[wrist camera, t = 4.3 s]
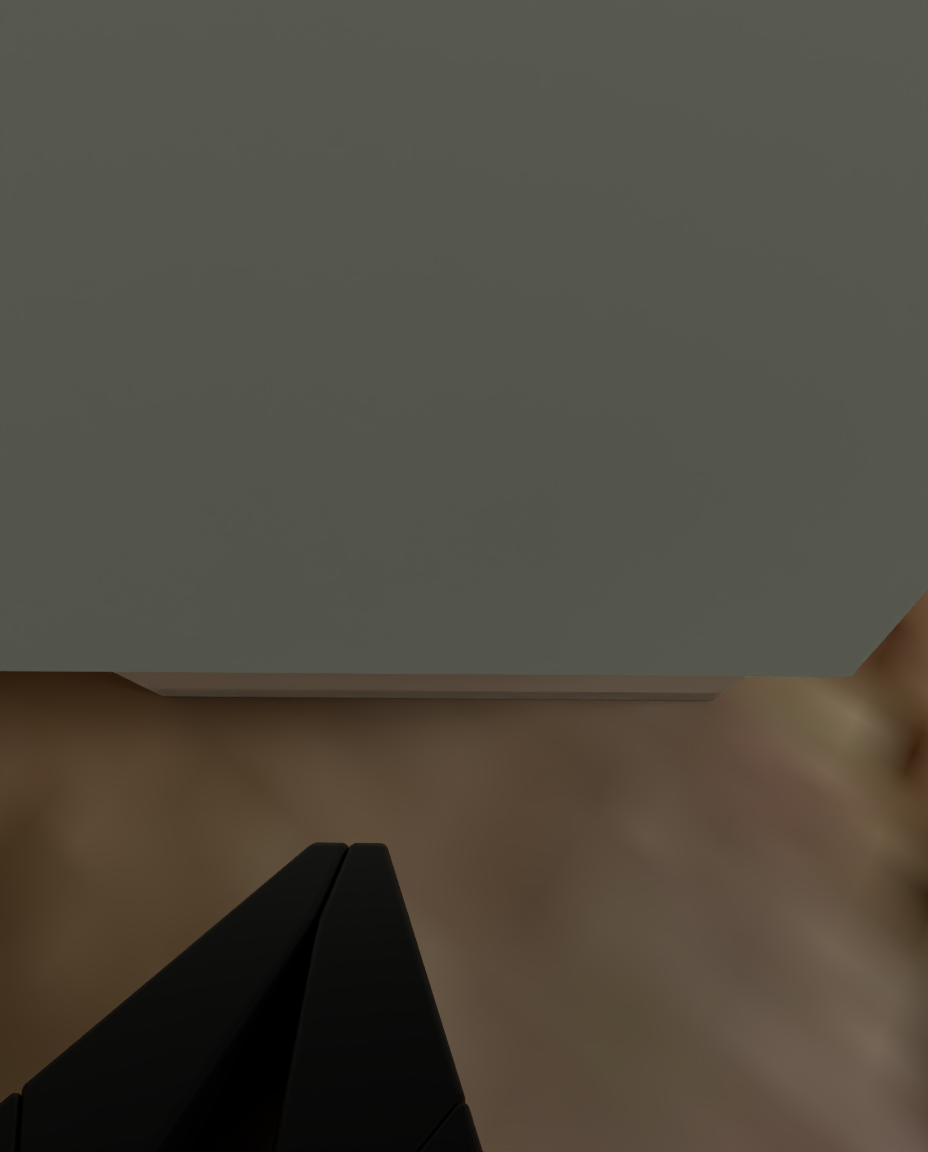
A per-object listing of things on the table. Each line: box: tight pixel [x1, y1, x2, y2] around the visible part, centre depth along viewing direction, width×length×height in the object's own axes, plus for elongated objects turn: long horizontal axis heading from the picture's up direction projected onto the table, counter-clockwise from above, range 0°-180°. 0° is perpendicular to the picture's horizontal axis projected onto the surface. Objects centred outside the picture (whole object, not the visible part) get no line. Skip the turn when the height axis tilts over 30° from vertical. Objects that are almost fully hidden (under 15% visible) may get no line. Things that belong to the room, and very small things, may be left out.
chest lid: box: [0, 0, 928, 677], centre depth 8 cm, size 12×16×1 cm
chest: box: [114, 672, 748, 701], centre depth 19 cm, size 12×16×7 cm
